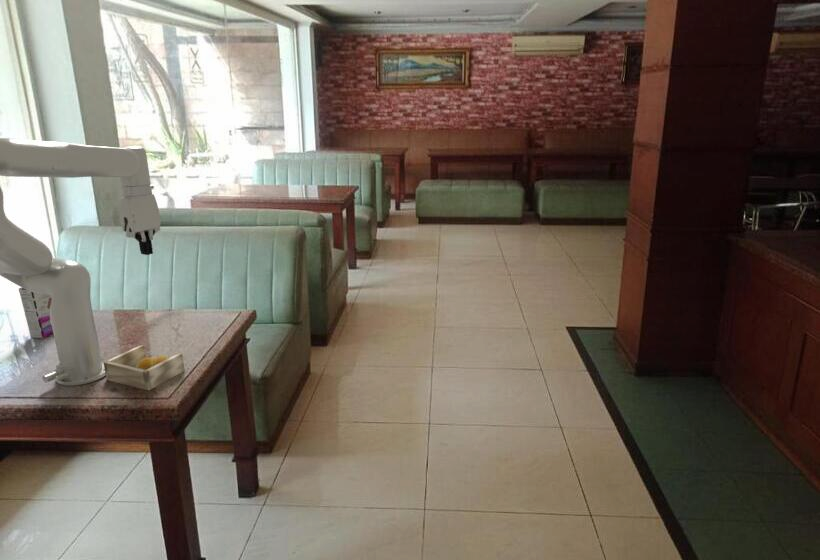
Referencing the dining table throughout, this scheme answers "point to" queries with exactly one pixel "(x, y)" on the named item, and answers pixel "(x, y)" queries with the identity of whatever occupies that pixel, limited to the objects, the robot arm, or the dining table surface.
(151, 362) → the bread roll
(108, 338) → the dining table surface
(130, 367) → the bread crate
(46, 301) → the candy bar box
